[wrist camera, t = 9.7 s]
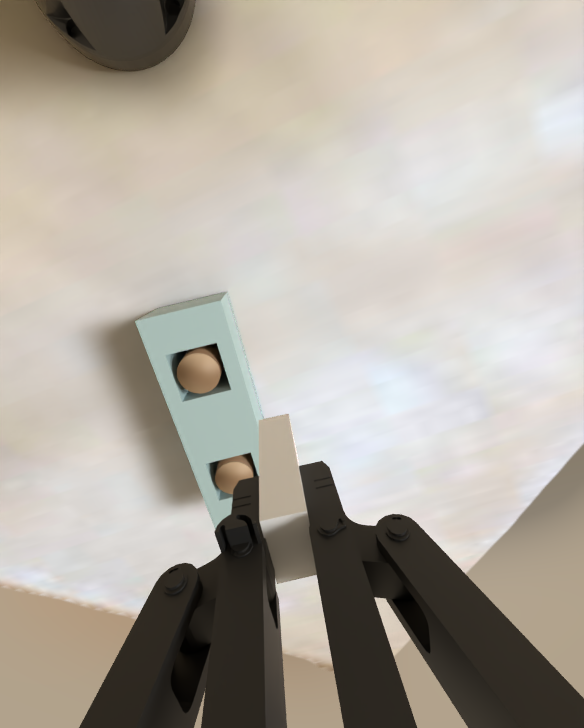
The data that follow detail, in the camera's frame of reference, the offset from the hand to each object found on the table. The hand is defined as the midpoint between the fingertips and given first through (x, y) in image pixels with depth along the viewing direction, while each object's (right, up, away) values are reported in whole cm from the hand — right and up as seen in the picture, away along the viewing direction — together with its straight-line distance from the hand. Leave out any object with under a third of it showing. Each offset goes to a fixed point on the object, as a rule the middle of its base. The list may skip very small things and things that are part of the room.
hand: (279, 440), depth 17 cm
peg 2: (-7, -8, +32) cm, 33 cm away
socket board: (-9, -1, +30) cm, 31 cm away
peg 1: (-10, +5, +27) cm, 30 cm away
